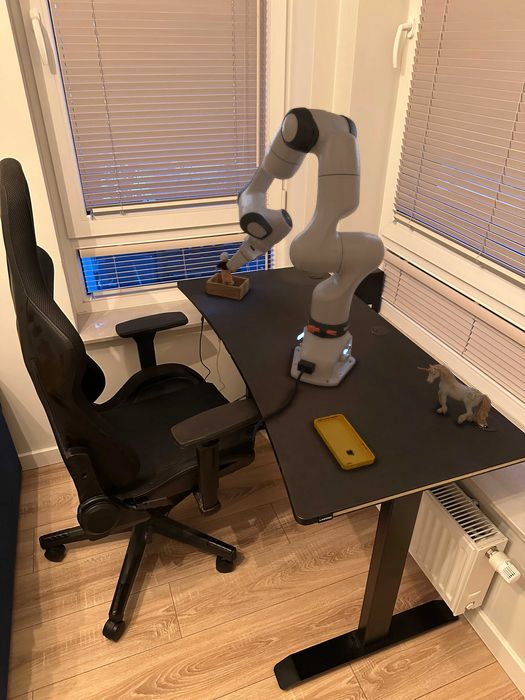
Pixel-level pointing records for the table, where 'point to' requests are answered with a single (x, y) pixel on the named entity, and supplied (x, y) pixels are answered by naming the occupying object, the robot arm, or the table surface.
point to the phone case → (343, 441)
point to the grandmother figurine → (225, 269)
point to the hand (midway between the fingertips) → (230, 266)
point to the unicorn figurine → (459, 395)
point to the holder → (227, 286)
